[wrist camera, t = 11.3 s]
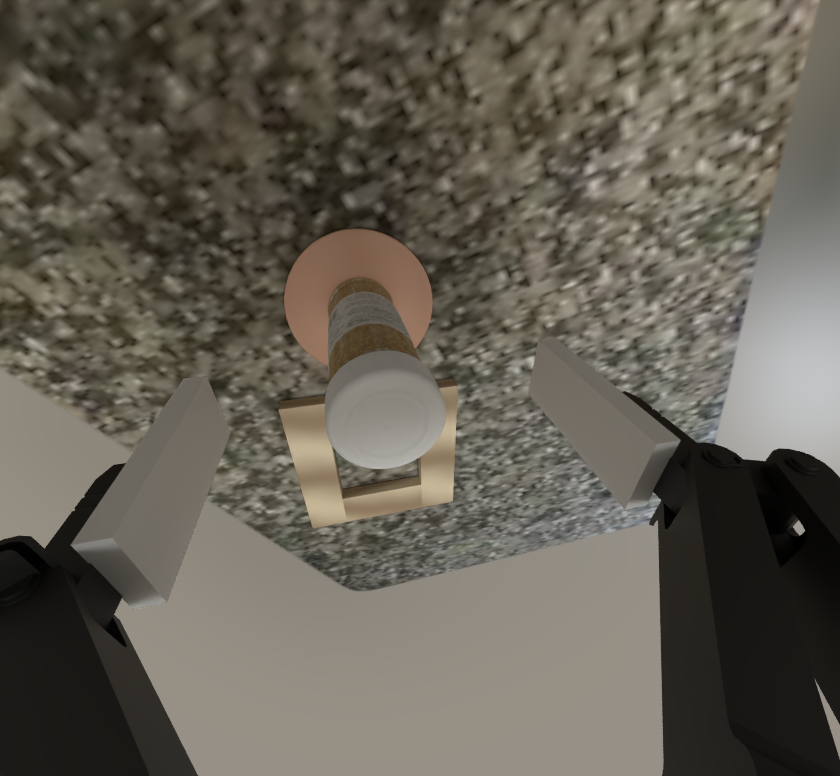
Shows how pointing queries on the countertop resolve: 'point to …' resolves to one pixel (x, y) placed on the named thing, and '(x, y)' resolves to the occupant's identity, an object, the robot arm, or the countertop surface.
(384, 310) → the sprinkles bottle
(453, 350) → the countertop surface
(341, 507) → the collar board
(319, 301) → the coaster
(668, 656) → the robot arm
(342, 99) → the countertop surface
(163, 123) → the countertop surface
